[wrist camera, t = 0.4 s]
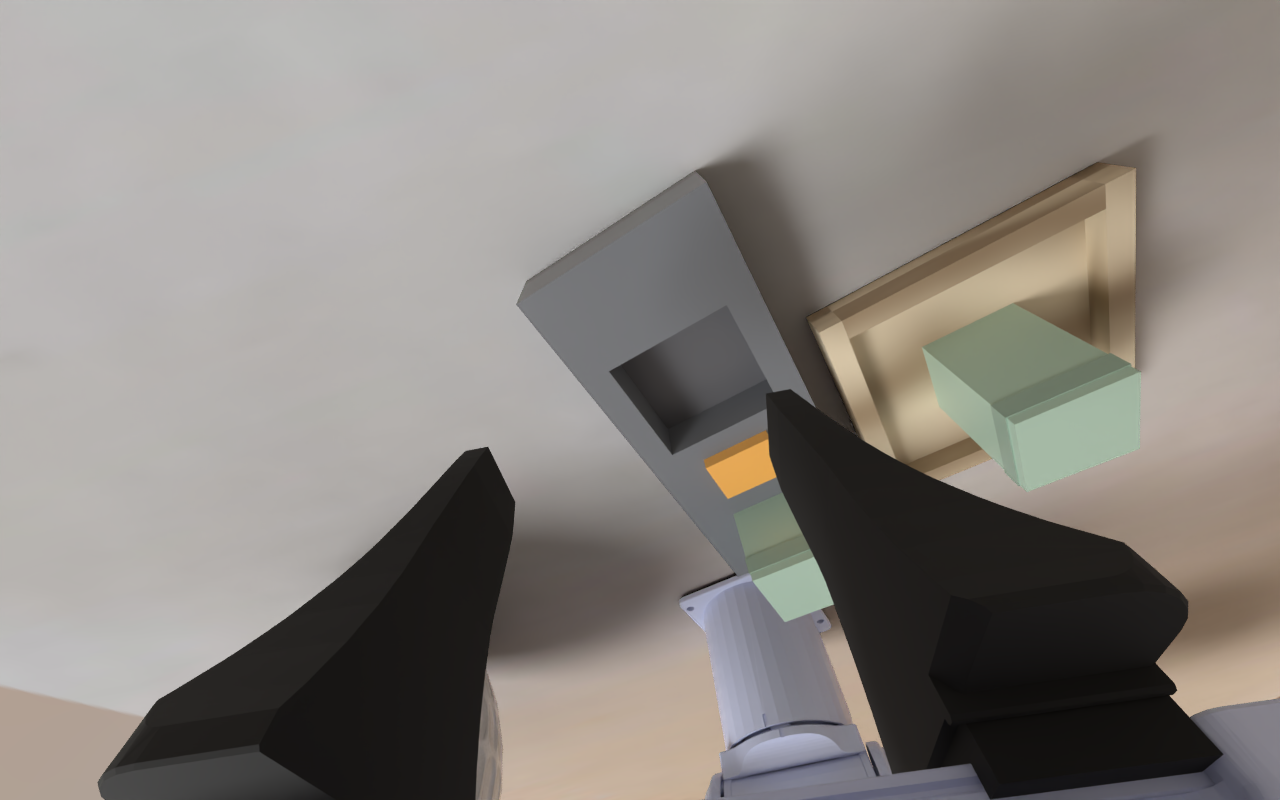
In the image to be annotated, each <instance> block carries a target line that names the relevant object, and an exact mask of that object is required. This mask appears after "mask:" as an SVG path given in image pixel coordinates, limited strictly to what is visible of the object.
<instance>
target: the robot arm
mask: <svg viewBox="0 0 1280 800" xmlns="http://www.w3.org/2000/svg"><path fill="white" fill-rule="evenodd" d="M766 407H767V424H768V441H769V456H770V459H771V462H772V465H773V468H774V471H775V474H776V477H777V480H778V483H779V485H780V488H781V491H782V493H783V495H784V497H785V499H786V501H787V503H788V505H789V507H790V509H791V511H792V513H793V515H794V517H795V520H796V522H797V524H798V526H799V528H800V530H801V532H802V534H803V536H804V538H805V540H806V542H807V544H808V546H809V548H810V550H811V552H812V554H813V556H814V558H815V560H816V562H817V564H818V566H819V568H820V571H821V573H822V575H823V577H824V580H825V582H826V585H827V587H828V590H829V593H830V595H831V598H832V601H833V603H834V606H835V609H836V611H837V614H838V617H839V619H840V622H841V625H842V628H843V630H844V633H845V636H846V639H847V641H848V644H849V647H850V650H851V653H852V655H853V658H854V661H855V664H856V667H857V670H858V673H859V675H860V678H861V681H862V684H863V687H864V690H865V693H866V696H867V699H868V702H869V705H870V708H871V711H872V714H873V717H874V720H875V723H876V726H877V729H878V732H879V735H880V738H881V741H882V744H883V747H884V748H883V747H881V746H880V745H879V743H877V742H876V741H871V742H867V743H866V747H867V751H868V754H869V757H870V760H871V762H870V760H869V757H868V755H867V752H866V750H865V747H864V744H863V742H862V739H861V737H860V734H859V731H858V729H857V726H856V725H855V724H852V718H851V714H850V711H849V708H848V706H847V703H846V701H845V698H844V695H843V693H842V690H841V687H840V685H839V682H838V680H837V677H836V674H835V672H834V669H833V667H832V664H831V661H830V659H829V656H828V654H827V651H826V648H825V646H824V643H823V640H822V638H821V635H820V633H821V632H824V631H827V630H829V629H830V628H831V623H830V621H829V619H828V618H827V617H826V615H825V614H824V612H823V611H822V609H820V610H817V611H814V612H812V613H809V614H806V615H803V616H801V617H798V618H795V619H792V620H790V621H787V622H784V620H783V619H782V618H781V617H780V615H779V614H778V613H777V611H776V610H775V609H774V608H773V606H772V605H771V604H770V603H769V601H768V600H767V599H766V598H765V596H764V595H763V594H762V593H761V591H760V590H759V589H758V588H757V586H756V585H755V584H754V582H753V581H752V578H751V575H750V574H749V573H747V574H744V575H742V576H739V577H738V576H737V575H736V576H734V577H731V578H729V579H727V580H724V581H722V582H719V583H717V584H714V585H712V586H709V587H707V588H704V589H702V590H699V591H697V592H694V593H692V594H689V595H687V596H684V597H682V598H681V599H680V600H679V605H680V607H681V608H682V609H683V610H684V611H685V612H686V613H687V614H688V615H689V616H690V617H691V618H692V619H693V620H694V621H695V622H696V623H697V624H698V625H699V626H700V627H701V628H702V629H703V630H704V631H705V632H706V637H707V643H708V649H709V655H710V660H711V666H712V672H713V678H714V683H715V689H716V695H717V701H718V706H719V712H720V718H721V723H722V729H723V735H724V741H725V746H726V751H723V752H720V753H719V756H720V762H721V768H722V773H717V774H715V775H713V777H712V779H711V782H710V785H709V788H708V790H707V792H706V796H705V799H704V800H1280V699H1273V700H1266V701H1258V702H1251V703H1244V704H1237V705H1229V706H1222V707H1217V708H1213V709H1208V710H1205V711H1202V712H1200V713H1197V714H1195V715H1193V716H1191V717H1190V718H1189V716H1188V715H1187V714H1186V713H1185V712H1184V711H1183V710H1182V709H1181V708H1180V707H1179V706H1178V705H1177V703H1176V702H1175V701H1174V700H1173V699H1172V698H1171V697H1170V696H1169V695H1173V694H1174V693H1175V692H1176V691H1177V689H1176V686H1175V683H1174V682H1173V681H1172V680H1171V679H1170V678H1169V677H1168V676H1167V675H1166V674H1165V673H1164V672H1163V671H1162V670H1161V669H1160V668H1159V667H1158V665H1157V664H1156V663H1155V662H1156V661H1157V660H1158V659H1159V657H1160V656H1161V655H1162V654H1163V652H1164V651H1165V650H1166V649H1167V647H1168V646H1169V645H1170V644H1171V642H1172V641H1173V640H1174V639H1175V637H1176V636H1177V635H1178V634H1179V632H1180V631H1181V629H1182V628H1183V626H1184V624H1185V622H1186V621H1187V619H1188V600H1187V599H1186V598H1185V597H1184V595H1183V594H1182V593H1181V592H1180V591H1179V590H1178V589H1177V588H1176V587H1175V586H1174V585H1172V584H1171V583H1170V582H1169V581H1168V580H1167V579H1166V578H1164V577H1163V576H1162V575H1161V574H1160V573H1159V572H1158V571H1157V570H1155V569H1154V568H1153V567H1152V566H1151V565H1150V564H1149V563H1147V562H1146V561H1145V560H1144V559H1143V558H1142V557H1141V556H1139V555H1138V554H1137V553H1136V552H1135V551H1134V550H1132V549H1131V548H1130V547H1128V546H1127V545H1126V544H1125V543H1123V542H1120V541H1116V540H1113V539H1109V538H1106V537H1102V536H1098V535H1095V534H1091V533H1088V532H1084V531H1081V530H1077V529H1074V528H1070V527H1066V526H1063V525H1059V524H1056V523H1052V522H1049V521H1046V520H1043V519H1040V518H1037V517H1034V516H1031V515H1028V514H1025V513H1022V512H1019V511H1016V510H1013V509H1010V508H1007V507H1004V506H1001V505H999V504H996V503H993V502H991V501H988V500H985V499H982V498H980V497H977V496H975V495H972V494H970V493H968V492H965V491H963V490H960V489H958V488H955V487H953V486H951V485H948V484H946V483H944V482H941V481H939V480H937V479H935V478H932V477H930V476H928V475H926V474H924V473H922V472H920V471H918V470H916V469H914V468H912V467H910V466H908V465H906V464H904V463H902V462H900V461H898V460H896V459H894V458H893V457H891V456H889V455H887V454H885V453H884V452H882V451H880V450H879V449H877V448H875V447H874V446H872V445H870V444H868V443H867V442H865V441H863V440H862V439H860V438H859V437H857V436H856V435H854V434H853V433H851V432H850V431H848V430H847V429H845V428H844V427H842V426H841V425H839V424H838V423H836V422H835V421H833V420H832V419H831V418H829V417H828V416H826V415H825V414H824V413H822V412H821V411H820V410H818V409H817V408H815V407H814V406H813V405H811V404H810V403H809V402H807V401H806V400H805V399H803V398H802V397H801V396H799V395H798V394H797V393H795V392H794V391H792V390H791V389H787V390H782V391H777V392H772V393H767V394H766ZM514 511H515V501H514V499H513V497H512V495H511V493H510V491H509V489H508V486H507V484H506V482H505V480H504V478H503V476H502V474H501V472H500V470H499V468H498V466H497V464H496V462H495V460H494V458H493V456H492V454H491V452H490V450H489V448H488V447H485V448H479V449H474V450H469V451H465V452H464V453H463V454H462V455H461V456H460V457H459V458H458V459H457V460H456V461H455V462H454V463H453V464H452V465H451V466H450V468H449V469H448V470H447V471H446V472H445V473H444V474H443V475H442V476H441V477H440V478H439V480H438V481H437V482H436V483H435V484H434V485H433V486H432V487H431V488H430V489H429V491H428V492H427V493H426V494H425V495H424V496H423V497H422V498H421V499H420V500H419V501H418V502H417V504H416V505H415V506H414V507H413V508H412V509H411V510H410V511H409V512H408V513H407V514H406V515H405V516H404V517H403V518H402V519H401V520H400V521H399V522H398V523H397V524H396V525H395V526H394V527H393V528H392V529H391V530H390V531H389V532H388V533H387V534H386V535H385V536H384V537H383V538H382V539H381V540H380V541H379V542H378V543H377V544H376V545H375V546H374V547H373V548H372V549H371V550H370V551H368V552H367V553H366V554H365V555H364V556H363V557H362V558H361V559H360V560H358V561H357V562H356V563H355V564H354V565H353V566H352V567H350V568H349V569H348V570H347V571H346V572H345V573H343V574H342V575H341V576H340V577H339V578H337V579H336V580H335V581H334V582H333V583H331V584H330V585H329V586H327V587H326V588H325V589H324V590H322V591H321V592H320V593H318V594H317V595H316V596H315V597H313V598H312V599H311V600H309V601H308V602H307V603H305V604H304V605H303V606H302V607H300V608H299V609H298V610H296V611H295V612H294V613H292V614H291V615H290V616H288V617H287V618H286V619H284V620H283V621H281V622H280V623H278V624H277V625H276V626H274V627H273V628H271V629H270V630H269V631H267V632H266V633H264V634H263V635H261V636H260V637H258V638H257V639H255V640H254V641H252V642H251V643H249V644H248V645H246V646H245V647H243V648H242V649H240V650H239V651H237V652H236V653H234V654H233V655H231V656H230V657H228V658H226V659H225V660H223V661H222V662H220V663H218V664H217V665H215V666H214V667H212V668H210V669H209V670H207V671H205V672H204V673H202V674H200V675H199V676H197V677H195V678H194V679H192V680H191V681H189V682H187V683H186V684H184V685H182V686H181V687H179V688H177V689H176V690H174V691H172V692H171V693H169V694H167V695H166V696H164V697H162V698H160V699H159V700H158V701H157V702H156V703H155V704H154V705H153V707H152V708H151V709H150V711H149V712H148V713H147V715H146V716H145V718H144V719H143V720H142V722H141V723H140V725H139V726H138V727H137V729H136V730H135V731H134V733H133V734H132V736H131V737H130V738H129V740H128V741H127V742H126V744H125V745H124V746H123V748H122V749H121V750H120V752H119V753H118V754H117V756H116V757H115V758H114V760H113V761H112V762H111V764H110V765H109V766H108V768H107V769H106V771H105V772H104V773H103V775H102V776H101V778H100V779H99V781H98V787H99V790H100V794H101V797H102V798H104V799H105V800H476V778H477V761H478V747H479V733H480V720H481V710H482V700H483V690H484V680H485V671H486V663H487V656H488V648H489V640H490V634H491V629H492V623H493V618H494V614H495V610H496V605H497V601H498V597H499V593H500V588H501V584H502V580H503V576H504V571H505V567H506V563H507V558H508V554H509V550H510V545H511V540H512V534H513V524H514ZM871 763H872V764H871ZM872 766H873V767H872Z"/></svg>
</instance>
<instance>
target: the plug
mask: <svg viewBox="0 0 1280 800" xmlns="http://www.w3.org/2000/svg"><path fill="white" fill-rule="evenodd" d="M922 350H923V353H924V356H925V360H926V363H927V367H928V370H929V373H930V377H931V380H932V384H933V387H934V390H935V394H936V397H937V401H938V404H939V407H940V408H941V409H942V410H943V411H944V412H945V413H946V414H947V415H948V416H949V417H950V418H951V419H952V420H953V421H954V422H955V423H957V424H958V425H959V426H960V427H961V428H962V429H963V430H964V431H965V432H966V433H967V434H968V435H969V436H970V437H971V438H972V439H973V440H974V441H975V442H976V443H977V444H978V445H979V446H980V447H981V448H982V449H983V450H984V451H985V452H986V453H987V454H988V455H989V456H990V457H992V458H993V459H994V460H995V461H996V462H997V463H998V464H999V465H1000V466H1001V467H1002V468H1003V469H1004V471H1005V473H1006V474H1007V475H1008V476H1009V477H1010V478H1011V479H1012V480H1013V481H1014V482H1015V483H1016V484H1017V485H1018V486H1021V487H1022V488H1023V489H1024V490H1025V491H1027V492H1029V491H1031V490H1034V489H1036V488H1039V487H1042V486H1044V485H1047V484H1049V483H1052V482H1055V481H1057V480H1060V479H1062V478H1065V477H1068V476H1070V475H1073V474H1075V473H1078V472H1081V471H1083V470H1086V469H1088V468H1091V467H1094V466H1096V465H1099V464H1101V463H1104V462H1107V461H1109V460H1112V459H1114V458H1117V457H1120V456H1122V455H1125V454H1127V453H1130V452H1133V451H1135V450H1138V449H1140V391H1141V371H1139V370H1137V369H1135V368H1133V367H1131V363H1129V362H1127V361H1125V360H1123V359H1121V358H1119V357H1117V356H1115V355H1114V354H1112V353H1109V354H1107V353H1105V352H1103V351H1101V350H1100V349H1098V348H1096V347H1094V346H1092V345H1090V344H1088V343H1086V342H1085V341H1083V340H1081V339H1079V338H1077V337H1075V336H1073V335H1072V334H1070V333H1068V332H1066V331H1064V330H1062V329H1060V328H1058V327H1057V326H1055V325H1053V324H1051V323H1049V322H1047V321H1045V320H1044V319H1042V318H1040V317H1038V316H1036V315H1034V314H1032V313H1030V312H1029V311H1027V310H1025V309H1023V308H1021V307H1019V306H1017V305H1016V304H1014V303H1012V304H1010V305H1008V306H1006V307H1004V308H1002V309H1000V310H998V311H996V312H994V313H991V314H989V315H987V316H985V317H983V318H981V319H979V320H977V321H975V322H973V323H971V324H969V325H967V326H965V327H962V328H960V329H958V330H956V331H954V332H952V333H950V334H948V335H946V336H944V337H942V338H940V339H938V340H936V341H934V342H931V343H929V344H927V345H925V346H923V347H922Z"/></svg>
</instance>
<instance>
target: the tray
mask: <svg viewBox="0 0 1280 800" xmlns="http://www.w3.org/2000/svg"><path fill="white" fill-rule="evenodd" d="M1135 270H1136V168H1132V167H1125V166H1119V165H1112V164H1106V163H1099V162H1097V163H1095V164H1093V165H1092V166H1090V167H1088V168H1086V169H1084V170H1082V171H1080V172H1078V173H1077V174H1075V175H1073V176H1071V177H1069V178H1067V179H1065V180H1063V181H1062V182H1060V183H1058V184H1056V185H1054V186H1052V187H1050V188H1048V189H1046V190H1045V191H1043V192H1041V193H1039V194H1037V195H1035V196H1033V197H1031V198H1030V199H1028V200H1026V201H1024V202H1022V203H1020V204H1018V205H1016V206H1015V207H1013V208H1011V209H1009V210H1007V211H1005V212H1003V213H1001V214H1000V215H998V216H996V217H994V218H992V219H990V220H988V221H986V222H984V223H983V224H981V225H979V226H977V227H975V228H973V229H971V230H969V231H968V232H966V233H964V234H962V235H960V236H958V237H956V238H954V239H953V240H951V241H949V242H947V243H945V244H943V245H941V246H939V247H937V248H936V249H934V250H932V251H930V252H928V253H926V254H924V255H922V256H921V257H919V258H917V259H915V260H913V261H911V262H909V263H907V264H906V265H904V266H902V267H900V268H898V269H896V270H894V271H892V272H891V273H889V274H887V275H885V276H883V277H881V278H879V279H877V280H875V281H874V282H872V283H870V284H868V285H866V286H864V287H862V288H860V289H859V290H857V291H855V292H853V293H851V294H849V295H847V296H845V297H844V298H842V299H840V300H838V301H836V302H834V303H832V304H830V305H829V306H827V307H825V308H823V309H821V310H819V311H817V312H815V313H813V314H812V315H810V316H808V317H806V319H807V321H808V323H809V325H810V328H811V330H812V332H813V335H814V337H815V339H816V341H817V344H818V346H819V348H820V350H821V353H822V355H823V357H824V360H825V362H826V364H827V366H828V369H829V371H830V373H831V376H832V378H833V380H834V382H835V385H836V387H837V389H838V392H839V394H840V396H841V398H842V401H843V403H844V405H845V407H846V410H847V412H848V414H849V417H850V419H851V421H852V423H853V426H854V428H855V430H856V433H857V435H858V437H859V438H860V439H862V440H863V441H865V442H867V443H868V444H870V445H872V446H874V447H875V448H877V449H879V450H880V451H882V452H884V453H885V454H887V455H889V456H891V457H893V458H894V459H896V460H898V461H900V462H902V463H904V464H906V465H908V466H910V467H912V468H914V469H916V470H918V471H920V472H922V473H924V474H926V475H928V476H930V477H932V478H935V479H937V480H942V479H944V478H946V477H949V476H951V475H954V474H956V473H959V472H961V471H964V470H966V469H968V468H971V467H973V466H976V465H978V464H981V463H983V462H986V461H988V460H990V459H993V458H992V457H990V456H989V455H988V454H987V453H986V452H985V451H984V450H983V449H982V448H981V447H980V446H979V445H978V444H977V443H976V442H975V441H974V440H973V439H972V438H971V437H970V436H969V435H968V434H967V433H966V432H965V431H964V430H963V429H962V428H961V427H960V426H959V425H958V424H957V423H955V422H954V421H953V420H952V419H951V418H950V417H949V416H948V415H947V414H946V413H945V412H944V411H943V410H942V409H941V408H940V407H939V404H938V401H937V397H936V394H935V390H934V387H933V384H932V380H931V377H930V373H929V370H928V367H927V363H926V360H925V356H924V353H923V350H922V347H923V346H925V345H927V344H929V343H931V342H934V341H936V340H938V339H940V338H942V337H944V336H946V335H948V334H950V333H952V332H954V331H956V330H958V329H960V328H962V327H965V326H967V325H969V324H971V323H973V322H975V321H977V320H979V319H981V318H983V317H985V316H987V315H989V314H991V313H994V312H996V311H998V310H1000V309H1002V308H1004V307H1006V306H1008V305H1010V304H1012V303H1014V304H1016V305H1017V306H1019V307H1021V308H1023V309H1025V310H1027V311H1029V312H1030V313H1032V314H1034V315H1036V316H1038V317H1040V318H1042V319H1044V320H1045V321H1047V322H1049V323H1051V324H1053V325H1055V326H1057V327H1058V328H1060V329H1062V330H1064V331H1066V332H1068V333H1070V334H1072V335H1073V336H1075V337H1077V338H1079V339H1081V340H1083V341H1085V342H1086V343H1088V344H1090V345H1092V346H1094V347H1096V348H1098V349H1100V350H1101V351H1103V352H1105V353H1107V354H1109V353H1112V354H1114V355H1115V356H1117V357H1119V358H1121V359H1123V360H1125V361H1127V362H1129V363H1131V367H1133V368H1135Z"/></svg>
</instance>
